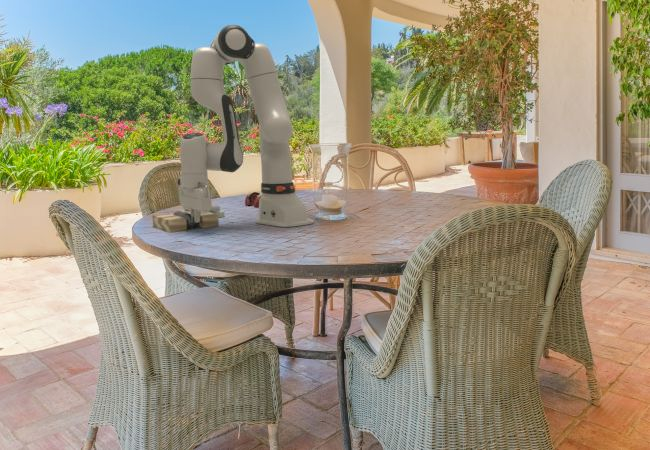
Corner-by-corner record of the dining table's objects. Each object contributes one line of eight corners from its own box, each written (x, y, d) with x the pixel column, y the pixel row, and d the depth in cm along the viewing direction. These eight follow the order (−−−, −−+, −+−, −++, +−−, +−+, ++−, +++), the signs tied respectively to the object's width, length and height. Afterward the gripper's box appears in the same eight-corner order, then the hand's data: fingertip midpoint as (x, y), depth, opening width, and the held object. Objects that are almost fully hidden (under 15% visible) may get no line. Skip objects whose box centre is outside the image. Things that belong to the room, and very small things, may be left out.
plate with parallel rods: (224, 216, 222) (223, 204, 221) (196, 220, 215) (195, 207, 214) (206, 212, 234) (206, 200, 234) (179, 215, 227) (178, 203, 226)
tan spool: (218, 225, 202) (218, 214, 201) (170, 232, 191) (169, 220, 191) (199, 220, 215) (198, 210, 214) (153, 226, 204) (152, 215, 203)
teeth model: (257, 193, 243) (243, 191, 252) (257, 208, 244) (243, 206, 253) (273, 193, 248) (259, 191, 258) (273, 207, 249) (259, 204, 259)
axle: (199, 227, 200) (198, 213, 199) (186, 229, 197) (184, 215, 196) (185, 223, 209) (184, 210, 208) (172, 225, 206) (171, 211, 205)
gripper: (215, 183, 185) (217, 225, 187) (192, 179, 202) (193, 217, 204) (197, 184, 181) (199, 227, 184) (174, 179, 198) (176, 218, 200)
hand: (195, 221), depth 194 cm, fingers closed
